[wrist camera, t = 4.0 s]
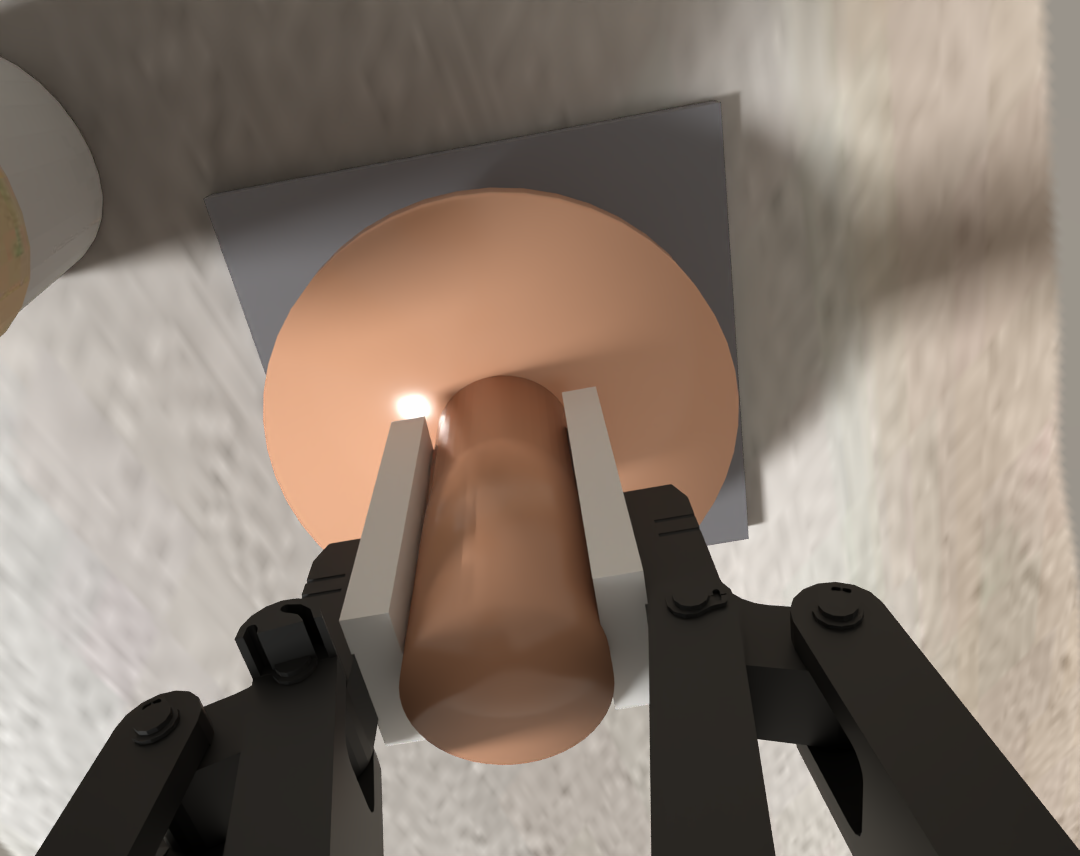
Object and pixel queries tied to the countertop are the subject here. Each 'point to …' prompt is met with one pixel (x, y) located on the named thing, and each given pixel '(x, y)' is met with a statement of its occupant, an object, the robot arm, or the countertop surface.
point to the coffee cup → (40, 191)
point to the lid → (498, 437)
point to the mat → (523, 162)
